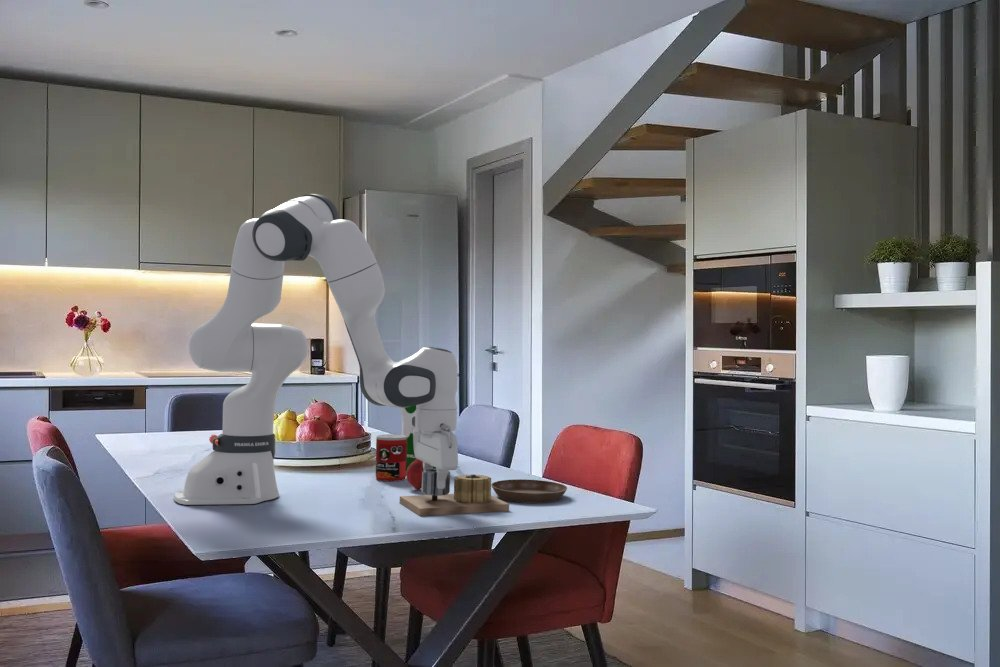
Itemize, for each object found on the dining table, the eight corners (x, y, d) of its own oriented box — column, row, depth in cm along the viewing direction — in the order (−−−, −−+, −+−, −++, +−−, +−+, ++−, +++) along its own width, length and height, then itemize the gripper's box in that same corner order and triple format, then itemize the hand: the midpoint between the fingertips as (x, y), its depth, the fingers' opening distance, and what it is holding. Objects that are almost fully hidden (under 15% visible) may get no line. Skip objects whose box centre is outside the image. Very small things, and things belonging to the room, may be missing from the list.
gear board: (419, 515, 199) (420, 482, 199) (399, 502, 213) (400, 471, 213) (509, 511, 207) (509, 478, 207) (484, 498, 221) (484, 468, 221)
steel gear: (453, 495, 208) (454, 472, 208) (426, 496, 206) (426, 473, 206) (444, 490, 214) (445, 468, 213) (418, 491, 211) (418, 468, 211)
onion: (426, 492, 228) (427, 458, 228) (402, 491, 229) (403, 457, 229) (432, 488, 233) (433, 455, 233) (410, 487, 235) (410, 454, 234)
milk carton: (395, 470, 260) (396, 396, 260) (415, 467, 268) (417, 395, 267) (421, 474, 255) (422, 398, 255) (441, 470, 263) (443, 396, 263)
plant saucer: (582, 499, 224) (583, 486, 224) (530, 508, 212) (530, 494, 212) (528, 489, 237) (528, 476, 237) (475, 497, 225) (475, 483, 225)
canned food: (369, 480, 244) (370, 436, 244) (385, 475, 251) (386, 433, 251) (396, 482, 241) (397, 438, 241) (411, 478, 248) (412, 435, 248)
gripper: (466, 426, 201) (464, 492, 201) (435, 417, 220) (434, 477, 220) (437, 427, 199) (435, 494, 199) (409, 417, 218) (407, 478, 218)
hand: (434, 485), depth 210 cm, fingers closed on steel gear, 6 cm apart
